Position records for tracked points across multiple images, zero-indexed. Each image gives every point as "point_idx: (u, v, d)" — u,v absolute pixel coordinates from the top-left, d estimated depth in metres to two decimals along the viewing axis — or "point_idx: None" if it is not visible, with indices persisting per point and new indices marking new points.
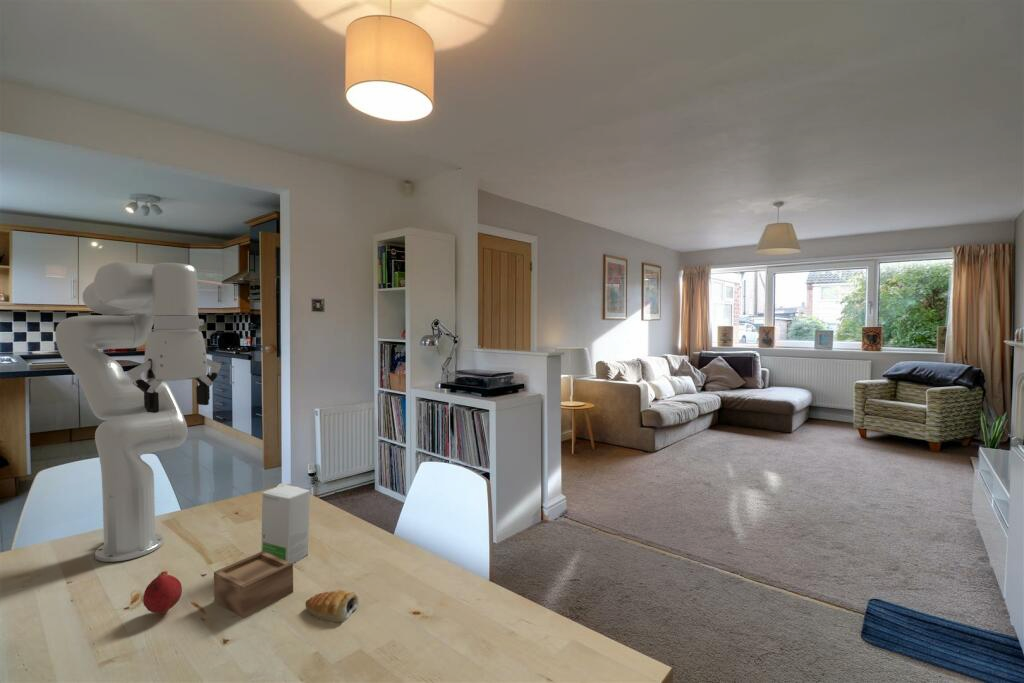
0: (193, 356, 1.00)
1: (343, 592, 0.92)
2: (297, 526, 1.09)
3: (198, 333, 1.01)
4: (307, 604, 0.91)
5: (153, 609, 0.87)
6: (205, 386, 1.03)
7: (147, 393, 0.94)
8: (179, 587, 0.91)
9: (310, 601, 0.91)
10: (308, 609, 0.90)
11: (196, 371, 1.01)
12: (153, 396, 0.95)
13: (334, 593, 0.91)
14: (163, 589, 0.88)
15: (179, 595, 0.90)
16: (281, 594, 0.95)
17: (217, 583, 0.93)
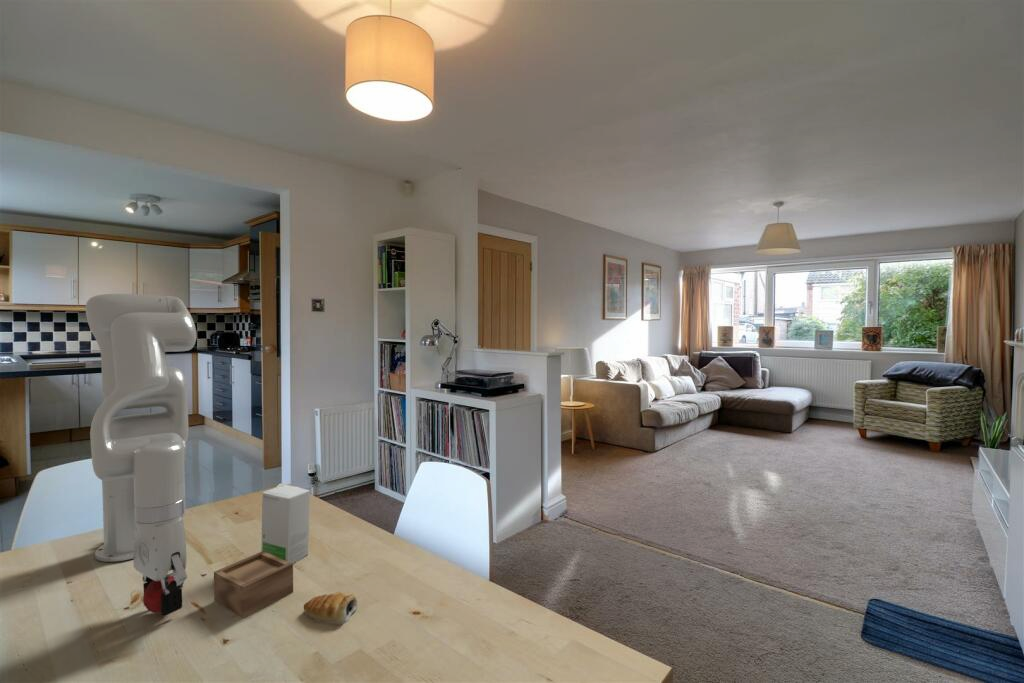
0: None
1: (342, 594, 0.91)
2: (297, 526, 1.09)
3: None
4: (305, 607, 0.90)
5: (153, 609, 0.87)
6: None
7: (176, 591, 0.88)
8: None
9: (309, 604, 0.90)
10: (306, 612, 0.89)
11: None
12: (179, 592, 0.89)
13: (333, 596, 0.91)
14: None
15: None
16: (281, 594, 0.95)
17: (217, 583, 0.93)
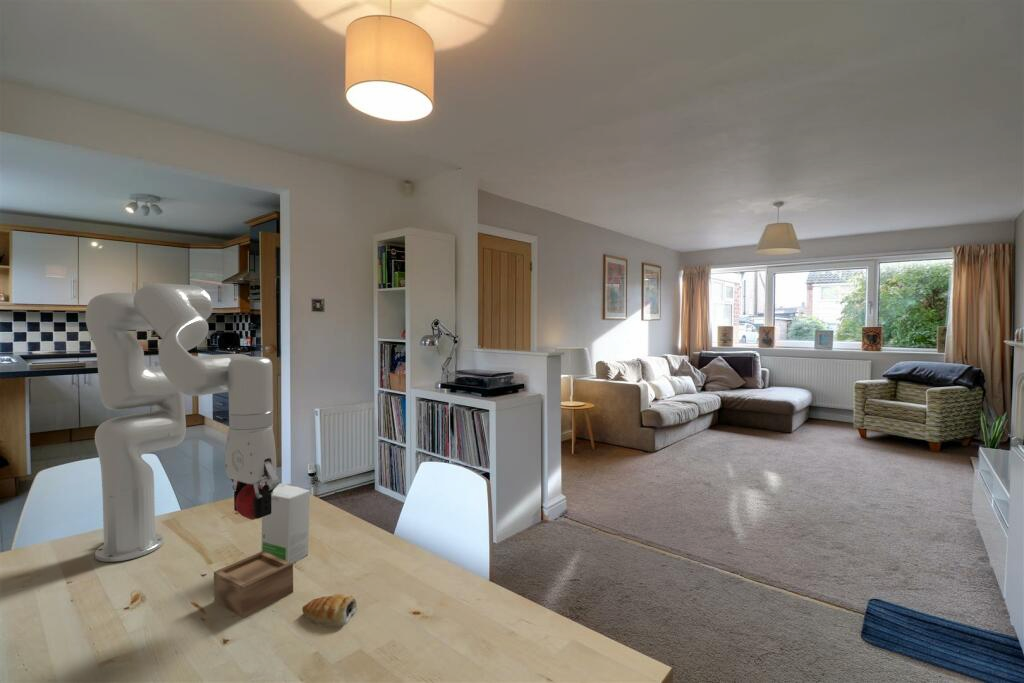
0: None
1: (341, 596, 0.91)
2: (297, 526, 1.09)
3: None
4: (304, 610, 0.89)
5: (246, 513, 0.92)
6: None
7: (267, 496, 0.93)
8: None
9: (308, 607, 0.89)
10: (306, 615, 0.88)
11: None
12: None
13: (332, 597, 0.90)
14: (254, 495, 0.93)
15: None
16: (281, 594, 0.95)
17: (217, 583, 0.93)
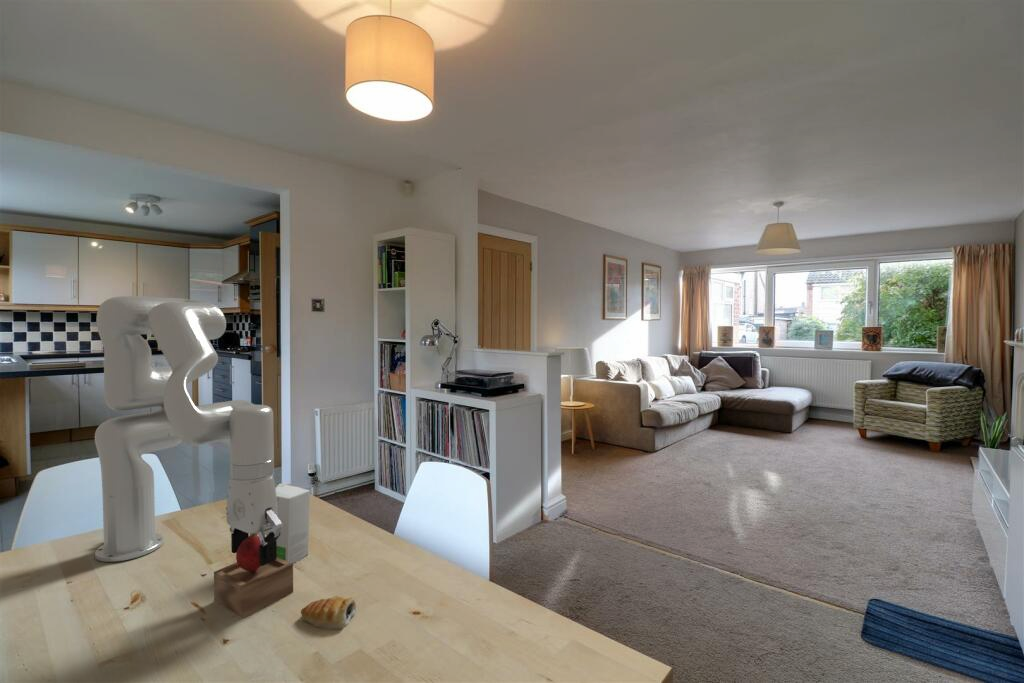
0: None
1: (340, 598, 0.90)
2: (297, 526, 1.09)
3: None
4: (303, 613, 0.88)
5: (246, 567, 0.93)
6: None
7: (273, 543, 0.93)
8: None
9: (307, 609, 0.88)
10: (305, 618, 0.88)
11: None
12: None
13: (331, 600, 0.89)
14: (255, 549, 0.93)
15: None
16: (281, 594, 0.95)
17: (217, 583, 0.93)
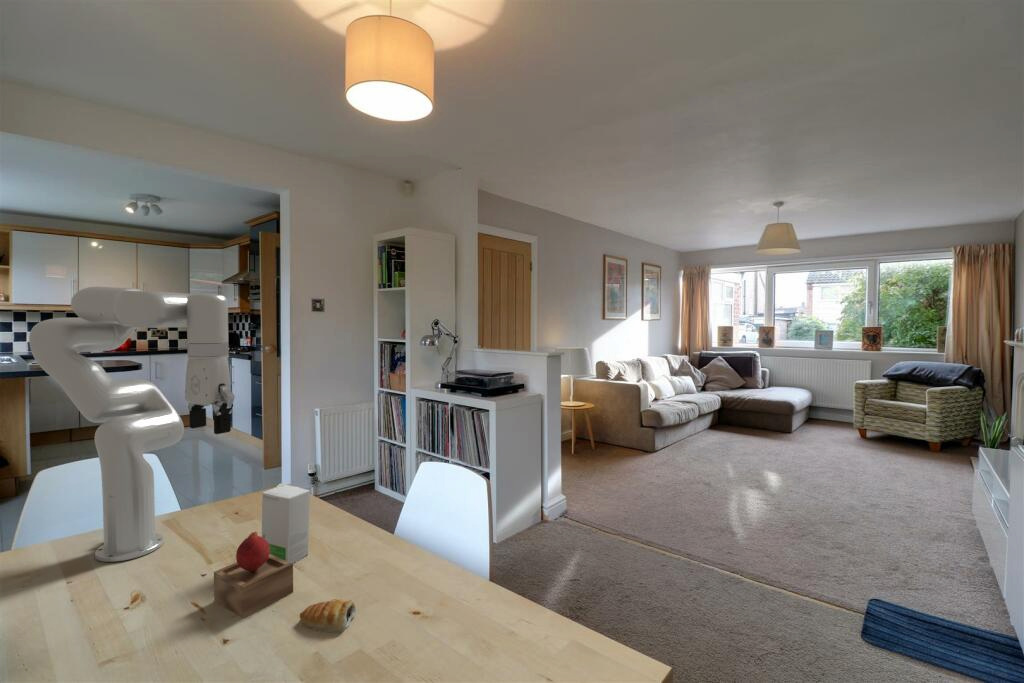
0: None
1: (340, 601, 0.89)
2: (297, 526, 1.09)
3: None
4: (302, 617, 0.87)
5: (246, 566, 0.93)
6: (203, 408, 1.09)
7: (226, 415, 1.03)
8: (268, 547, 0.96)
9: (306, 613, 0.87)
10: (304, 622, 0.86)
11: None
12: None
13: (331, 603, 0.88)
14: (255, 548, 0.94)
15: (268, 554, 0.96)
16: (281, 594, 0.95)
17: (217, 583, 0.93)
